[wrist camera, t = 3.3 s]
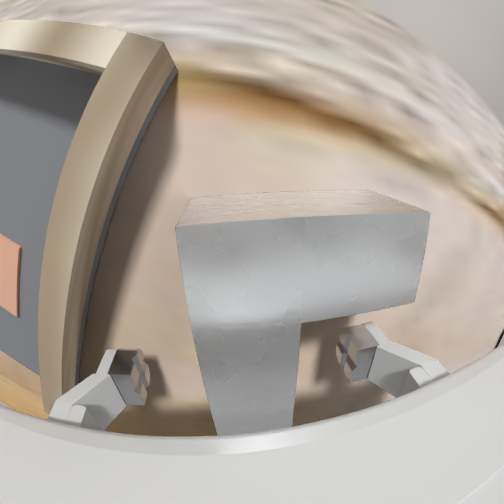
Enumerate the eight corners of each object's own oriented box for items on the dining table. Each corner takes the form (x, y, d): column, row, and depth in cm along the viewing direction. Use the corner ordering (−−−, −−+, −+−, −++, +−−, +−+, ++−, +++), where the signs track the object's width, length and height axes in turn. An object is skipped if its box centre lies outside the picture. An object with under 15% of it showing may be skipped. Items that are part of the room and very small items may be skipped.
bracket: (191, 197, 10) (175, 226, 6) (367, 190, 10) (430, 212, 7) (226, 426, 15) (231, 479, 11) (332, 410, 15) (352, 457, 12)
